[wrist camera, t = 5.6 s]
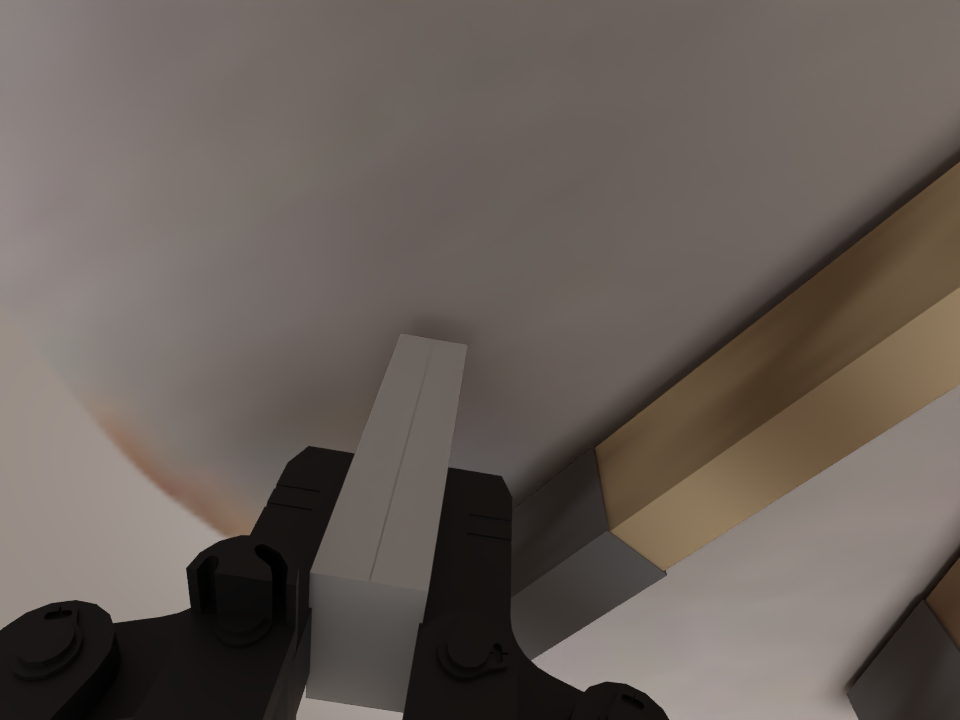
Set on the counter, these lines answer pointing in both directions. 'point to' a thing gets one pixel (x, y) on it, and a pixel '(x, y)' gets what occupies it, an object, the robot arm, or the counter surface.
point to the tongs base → (917, 663)
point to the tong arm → (748, 423)
